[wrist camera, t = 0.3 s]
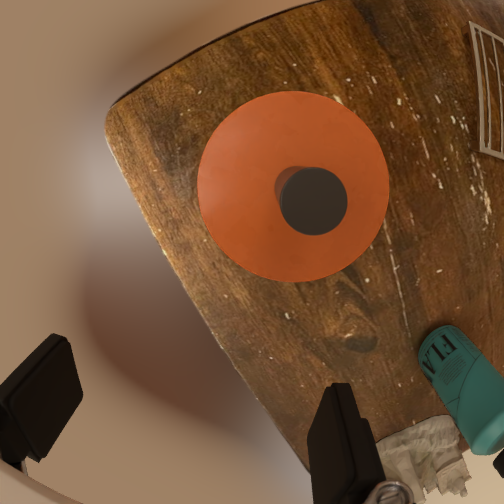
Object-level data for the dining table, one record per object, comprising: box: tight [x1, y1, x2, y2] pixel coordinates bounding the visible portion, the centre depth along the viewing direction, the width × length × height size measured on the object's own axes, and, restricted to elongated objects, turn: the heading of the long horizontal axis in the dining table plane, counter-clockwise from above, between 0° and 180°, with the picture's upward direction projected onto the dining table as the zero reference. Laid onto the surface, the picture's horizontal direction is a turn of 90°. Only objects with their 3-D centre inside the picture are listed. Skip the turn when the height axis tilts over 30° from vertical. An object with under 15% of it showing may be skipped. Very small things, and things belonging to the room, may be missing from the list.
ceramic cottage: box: [376, 415, 471, 504], centre depth 29 cm, size 16×16×15 cm
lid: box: [197, 91, 389, 282], centre depth 16 cm, size 13×13×8 cm
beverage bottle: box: [418, 325, 504, 478], centre depth 20 cm, size 6×7×20 cm
